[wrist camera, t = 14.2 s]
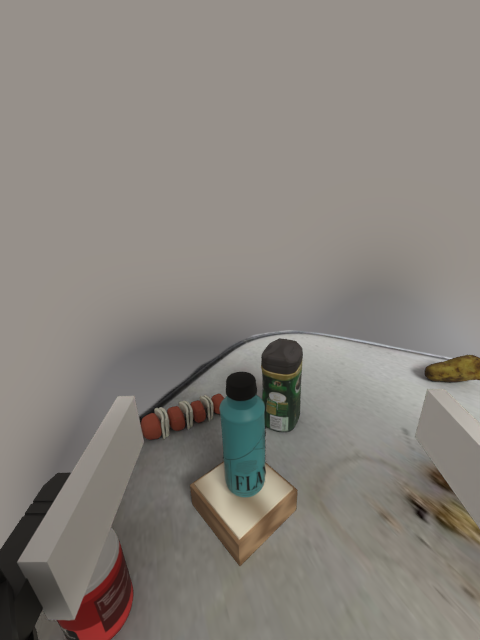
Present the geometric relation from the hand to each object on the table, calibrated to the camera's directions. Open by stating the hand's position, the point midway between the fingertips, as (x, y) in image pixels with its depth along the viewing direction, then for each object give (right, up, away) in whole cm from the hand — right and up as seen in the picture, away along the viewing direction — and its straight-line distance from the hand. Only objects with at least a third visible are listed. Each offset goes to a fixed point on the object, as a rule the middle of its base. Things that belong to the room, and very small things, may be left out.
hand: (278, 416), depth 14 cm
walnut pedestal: (-1, -26, +35) cm, 44 cm away
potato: (+54, -12, +65) cm, 85 cm away
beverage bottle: (-1, -22, +33) cm, 40 cm away
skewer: (-14, -19, +54) cm, 59 cm away
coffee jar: (+7, -18, +54) cm, 58 cm away
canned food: (-19, -32, +24) cm, 44 cm away
